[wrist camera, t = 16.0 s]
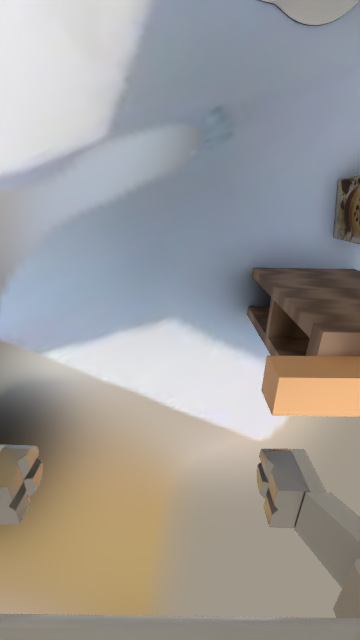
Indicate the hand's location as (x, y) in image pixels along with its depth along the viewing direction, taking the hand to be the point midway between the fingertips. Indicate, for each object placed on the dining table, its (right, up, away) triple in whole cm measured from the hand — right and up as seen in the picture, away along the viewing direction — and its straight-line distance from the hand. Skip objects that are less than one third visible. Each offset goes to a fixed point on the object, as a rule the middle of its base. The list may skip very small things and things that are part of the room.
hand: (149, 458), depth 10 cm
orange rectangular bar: (+20, 0, +16) cm, 26 cm away
